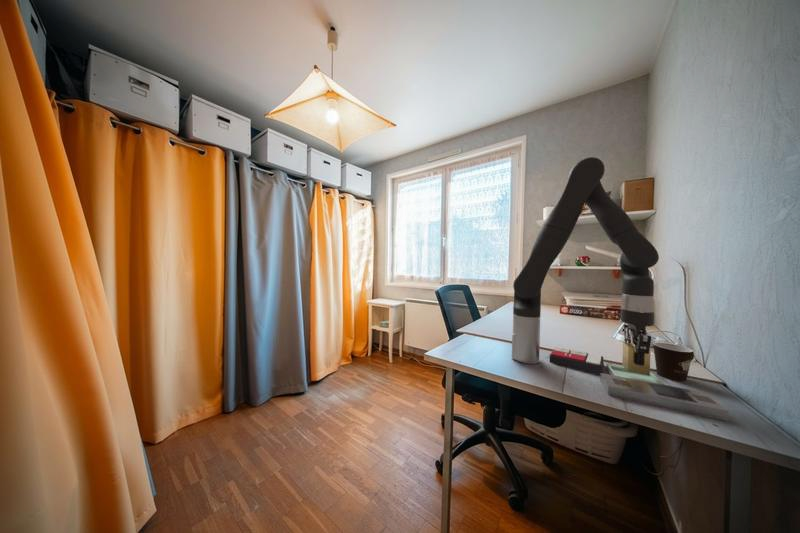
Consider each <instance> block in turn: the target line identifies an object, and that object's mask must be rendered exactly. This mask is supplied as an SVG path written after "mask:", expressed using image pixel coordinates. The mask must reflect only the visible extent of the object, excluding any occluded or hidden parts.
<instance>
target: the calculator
mask: <svg viewBox="0 0 800 533" xmlns="http://www.w3.org/2000/svg"><path fill="white" fill-rule="evenodd" d="M549 363H552V364H556V365H557V366H558V365H559V366H563V367H567V368H570V369H575V370H578V371H583V372H585V373H589V374H593V375H597V376H600V373H603V372H604V366H605V365H604V356H603V355H600V354H595V353H588V352H586V351H582V350H575V349H569V348H564V347H560V346H556V347H554V349H553V350H552V351H551V353H550V354H549ZM603 374H604V373H603Z"/></svg>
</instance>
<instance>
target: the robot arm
mask: <svg viewBox="0 0 800 533" xmlns="http://www.w3.org/2000/svg"><path fill="white" fill-rule="evenodd" d="M605 169H606V168H605V165H604V162H603V161H602V160H601V159H600V158H598V157H594V156H593V157H592V156H591V157H586V158H584V159H582V160H579V161H578V162H577V163H575V164H574V165H573V166H572V168H571V169H570V171H569V173H568V176H567V182H566V184H565V186H564V189H563V191H562V193H561V195H560V197H559V199H558V200H557V202H556V204H555V205H554V206H553V208H552V210H550V213H549V214H548V216H547V217H546V219H545V221H544V222H543V224H542V226H541V228H540V230H539V232H538V234H537V236H536V238H535V241H534V244H533V246H532V248H531V252H530V255H529V257H528V259H527V261H526V263H525V265H524V266H523V268H522V269H521V271H520V272H519V274H518V275H517V276H516V278H515V279H514V281H513V287H512V288H513V290H514V291H513V307H512V308H513V310H512V311H513V312H512V313H513V314H512V335H511V337H512V338H511V340H512V341H511V359H512V360H515V361H517V362H520V363H524V364H530V365H533V364H534V365H535V364H539V363H540V344H541V343H540V342H541V306H542V303H541V299H542V298H541V297H542V288H543V287H542V286H543V284H544V282H545V280H546V276H547V274H548V272H549V270H550V268H551V266H552V265H553V263H554V262H555V260H556V259H557V258H558V257H559V255H560V254H561V252H562V250H563V249H564V247H565V245H566V244H567V242H568V240H569V239H570V237H571V234H572V233H573V231H574V229H575V228H576V225H577V222H578V220H579V218H580V216H581V213H582V210H583V207H584V205H586V206H587V207H588V208H589V209H590V211H591V212H592V214H593V215H594V217H595V219H596V220H597V221H598V223H599V225H600V226H601V228H602V229H603V232H604V233H605V234H606V236H607V238H609V240H610V241H611V242H612V244H614V245H616V246H618V248H619V249H620V251H621V252H622V253H621V255H620V259H619V264H620V273H621V277H622V289H621V291H622V295H621V299H620V321H621V323H625V324H623V332H624V333H623V334H624V335H623V336H624V340H623V342H628V343H631V344H633V345H634V363H635V364H636V365H642V366H643V365H644V362H645V354H649V350H651V343H652V336H651V335H648V331H647V330H646V329H647V328H646V327H653V326H654V325H655V305H656V304H655V303H656V302H655V298H654V297H655V296H654V294H655V291H654V290H655V289H654V288H655V284H654V283H655V282H654V279H653V278H652V277H651V276H650V269H649V268H652V267H654V266H655V265H656V264H658V261H659V257H660V255H659V252H658V250H657V249H656V248H655V246H654V245H653V244H652V242H650V241H649V240H648V239H647V237H645V236H644V235H643V233H641V232H640V231H639V230H638V228H637V227H636V225H635V223H634V222H633V220H632V219H631V217H630V216H629V215H628V213H627V212H626V211H625V210H624V209H623V208H622V207H621V206H620V205H618V204H617V203H616V202H615V201H613V198H611V197H610V196H609V194H608V193H607V192H606V190H605V188H604V187H603V184H602V182H601V180H602V178H603V177H604V176H605ZM641 346H642V349H640V348H641Z"/></svg>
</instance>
